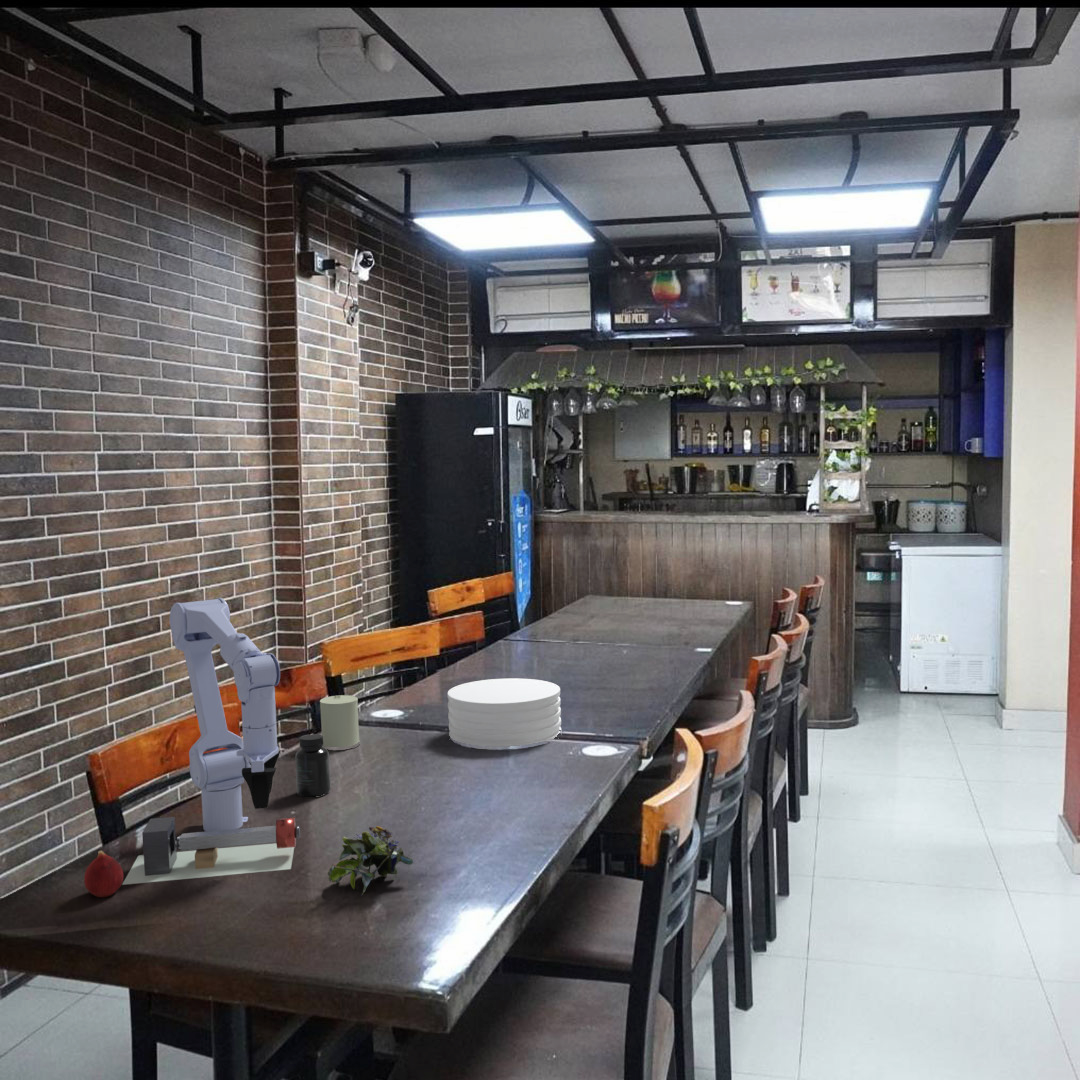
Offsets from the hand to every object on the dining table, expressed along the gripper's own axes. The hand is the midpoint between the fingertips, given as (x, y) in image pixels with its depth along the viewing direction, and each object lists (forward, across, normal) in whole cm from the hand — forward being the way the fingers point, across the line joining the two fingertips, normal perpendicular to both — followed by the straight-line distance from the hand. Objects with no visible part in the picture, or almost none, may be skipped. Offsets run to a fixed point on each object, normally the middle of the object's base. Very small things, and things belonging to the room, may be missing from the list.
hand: (262, 800), depth 185 cm
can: (+11, -70, +13) cm, 72 cm away
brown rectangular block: (+9, +3, -10) cm, 14 cm away
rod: (+8, +3, -4) cm, 9 cm away
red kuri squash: (+10, +12, -24) cm, 29 cm away
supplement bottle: (+11, -34, +7) cm, 37 cm away
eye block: (+9, +3, -17) cm, 20 cm away
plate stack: (+11, -69, +53) cm, 88 cm away
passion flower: (+10, +18, +18) cm, 27 cm away
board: (+10, +3, -9) cm, 14 cm away
